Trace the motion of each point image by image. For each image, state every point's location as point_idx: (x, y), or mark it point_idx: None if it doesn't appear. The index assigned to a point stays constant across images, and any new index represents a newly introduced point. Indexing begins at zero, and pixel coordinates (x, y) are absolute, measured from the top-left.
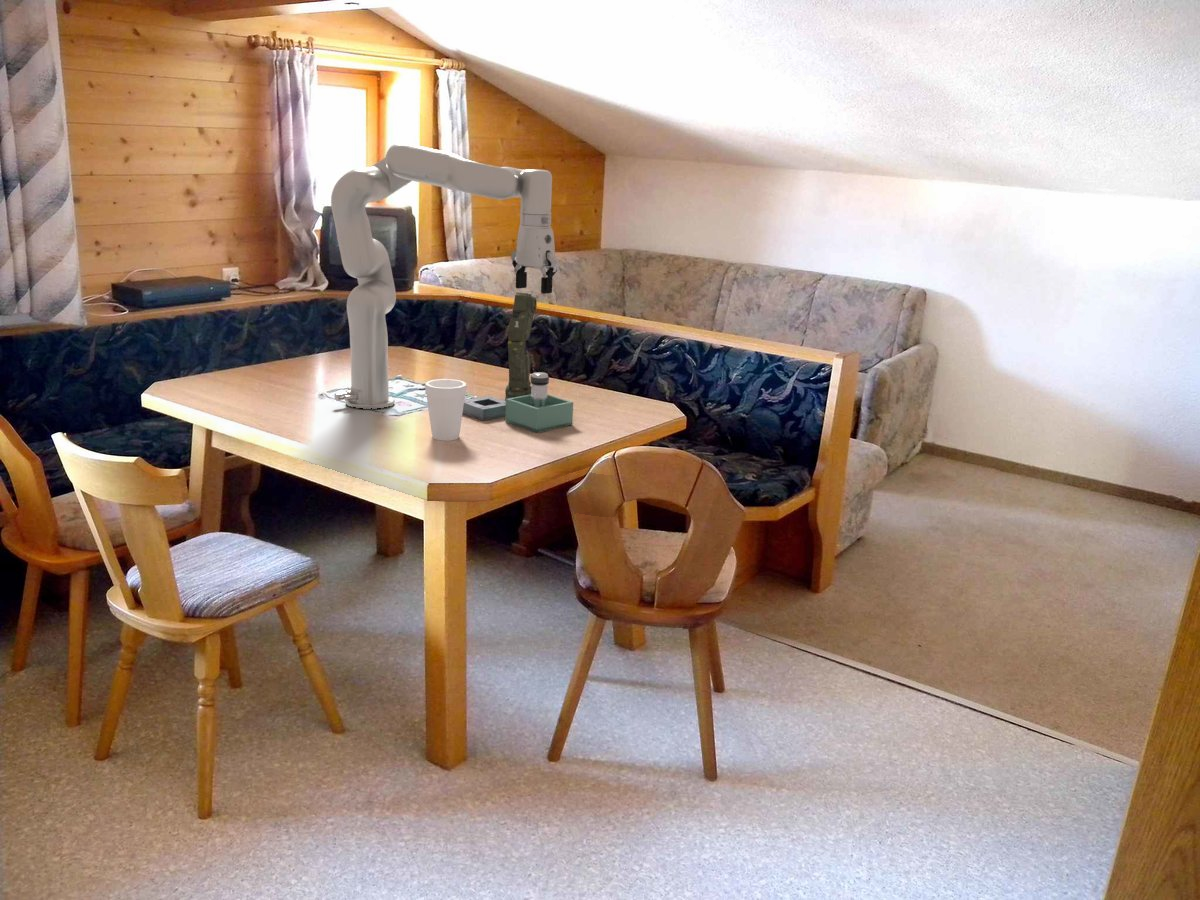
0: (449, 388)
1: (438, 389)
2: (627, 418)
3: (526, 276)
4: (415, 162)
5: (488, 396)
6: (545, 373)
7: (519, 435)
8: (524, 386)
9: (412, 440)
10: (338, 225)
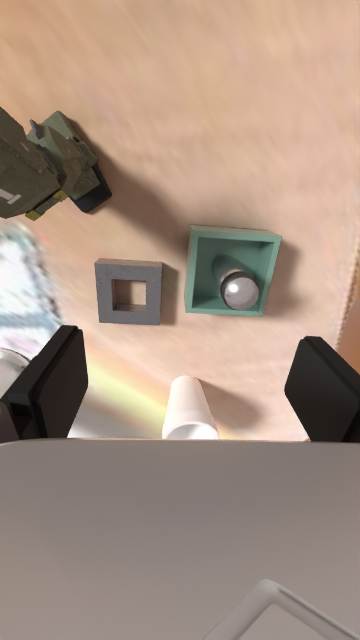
0: None
1: None
2: (322, 97)
3: (54, 375)
4: None
5: (97, 267)
6: (246, 281)
7: (242, 325)
8: (83, 167)
9: None
10: None
